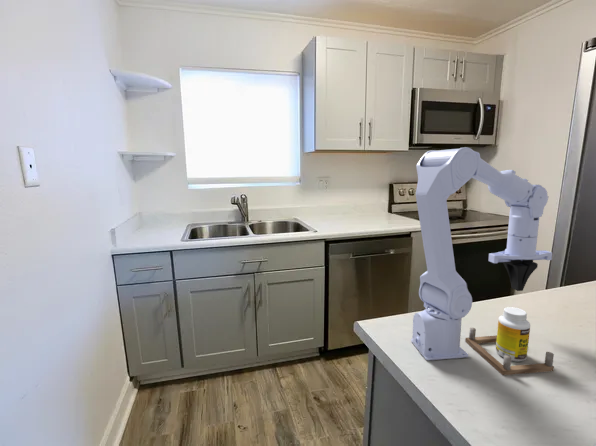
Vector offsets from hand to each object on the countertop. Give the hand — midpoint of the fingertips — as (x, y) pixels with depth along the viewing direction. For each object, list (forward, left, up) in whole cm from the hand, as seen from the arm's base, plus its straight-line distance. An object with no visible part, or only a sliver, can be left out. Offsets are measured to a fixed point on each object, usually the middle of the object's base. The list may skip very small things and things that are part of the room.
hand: (517, 289), depth 75 cm
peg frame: (-10, -10, -10) cm, 17 cm away
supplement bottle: (-9, -10, -11) cm, 17 cm away
